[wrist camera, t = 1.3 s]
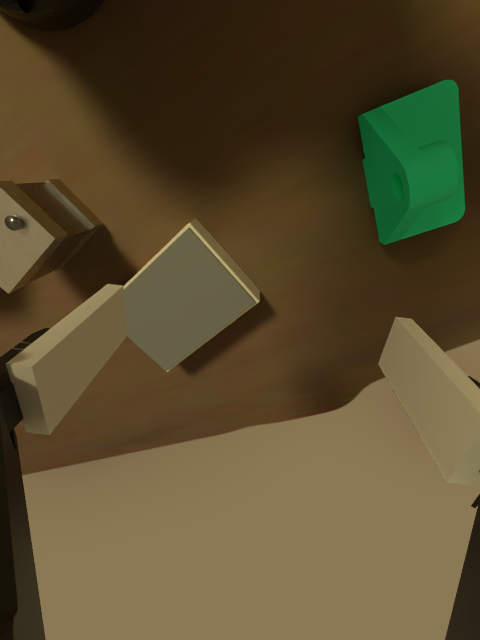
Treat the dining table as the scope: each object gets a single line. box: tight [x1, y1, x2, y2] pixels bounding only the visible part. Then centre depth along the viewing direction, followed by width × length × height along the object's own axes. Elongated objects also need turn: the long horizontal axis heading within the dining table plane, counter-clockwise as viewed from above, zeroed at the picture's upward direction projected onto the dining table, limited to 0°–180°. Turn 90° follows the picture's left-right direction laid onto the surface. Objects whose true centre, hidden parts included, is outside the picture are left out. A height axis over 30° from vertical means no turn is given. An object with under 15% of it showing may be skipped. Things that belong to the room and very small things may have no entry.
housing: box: [0, 179, 103, 294], centre depth 31 cm, size 6×8×10 cm
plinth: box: [123, 218, 260, 372], centre depth 36 cm, size 11×15×4 cm
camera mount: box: [358, 80, 465, 245], centre depth 26 cm, size 12×8×10 cm, turn 20°
